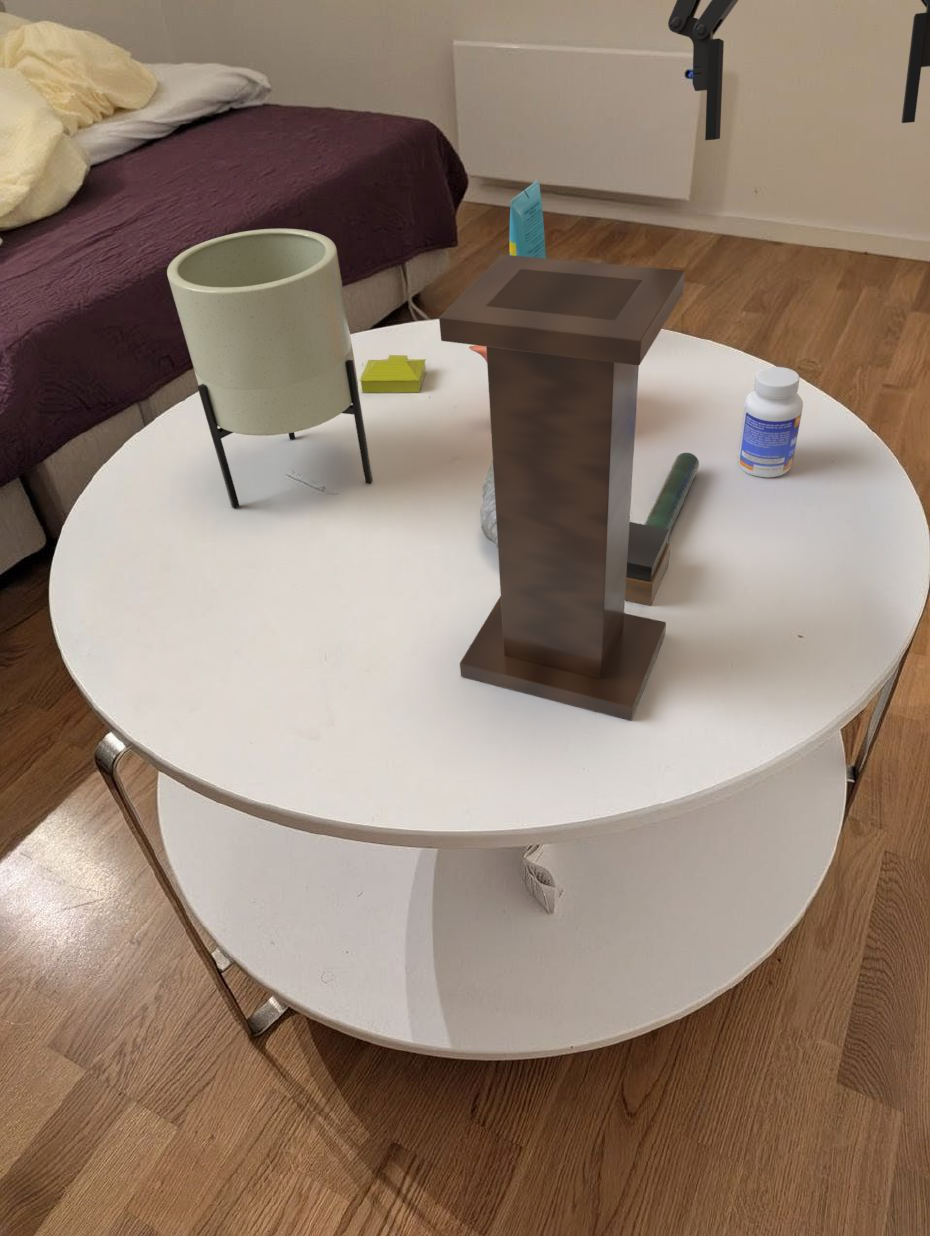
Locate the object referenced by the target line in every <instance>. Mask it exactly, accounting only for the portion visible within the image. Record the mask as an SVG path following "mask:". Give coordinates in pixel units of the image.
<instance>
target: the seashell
mask: <svg viewBox="0 0 930 1236" xmlns="http://www.w3.org/2000/svg"><path fill="white" fill-rule="evenodd" d="M482 499H483V500H482V503H481V507H480V518H481V519H480V524H481V525H480V527H481V530H482V532H483V535H484V536H485V537H486V539H487V540H488V541H490V542H492V543H493V544H495V546H496V548H497V549H498V540H497V522H496V505H495V488H494V471H493V460H491V462H490V465H489V469H488V472H487V474H486V476H485V478H484V482H483V483H482Z"/></svg>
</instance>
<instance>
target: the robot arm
mask: <svg viewBox="0 0 930 1236" xmlns="http://www.w3.org/2000/svg"><path fill="white" fill-rule="evenodd" d="M701 2H702V0H676V2H675V4H674V6H673V8H672V11H671V13H670V16H669V18H668V22H667V25H668V29H669V30H670V32H672V33H675V34H677V35H680V36H682V37H683V36H684V37H687V38H689V39H690V40H691V42H692V47H693V51H692V86H693V90H694V92H702V91H706V101H705V102H706V107H705V134H704V135H705V138H704V141H714V140H720V139H721V127H722V126H721V123H722V95H723V73H724V72H723V70H724V50H725V49H724V46H725V45H724V44H725V41H724V40H723V39H721V38H714V37H715V35H716V33H717V32H718V30H719V29H720V27H721V26H722V25H723V23H724V21H725V20H726V19H727V17H728V16H729V15H730V13H731V12H732V10H733V9H734V7H735V6H736V4H737V3H738V2H739V0H711V1H710V2H709V3H708V5H707V7H706V8H705V9H704V11H703V12H702V13H701V15H700V16H699V18H697V17H695V16H696V13H697V11H698V8H699V6H700V5H701ZM920 2H921V3H922V4H923V6H924V7H925V8H926V9H925V12H918V13H915V14H914V16H913V22H912V30H911V38H910V47H909V55H908V64H907V72H906V81H905V89H904V99H903V107H902V114H901V115H902V116H901V124H908V123H909V124H910V123H915V121H916V112H917V105H918V98H919V88H920V80H921V72H922V68H930V0H920Z"/></svg>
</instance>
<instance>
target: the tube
mask: <svg viewBox="0 0 930 1236" xmlns="http://www.w3.org/2000/svg"><path fill="white" fill-rule="evenodd" d="M540 185H541V184H540V181H539V180H535V181H534V182H533V183H531V185H529V186H528V187H527V188H525V189H524V190H523V191H521V192H520V193H518V194H517V195H516V196H515V197H513V198H512V199H511V200H510V211H509V212H510V213H509V240H508V241H509V245H508V246H509V249H508V250H509V255H512V256H523V257H535V258H546V259H547V257H546V255H547V254H546V238H545V225H544V224H545V223H544V222H545V221H544V212H543V200H542V194H541V186H540Z"/></svg>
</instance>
